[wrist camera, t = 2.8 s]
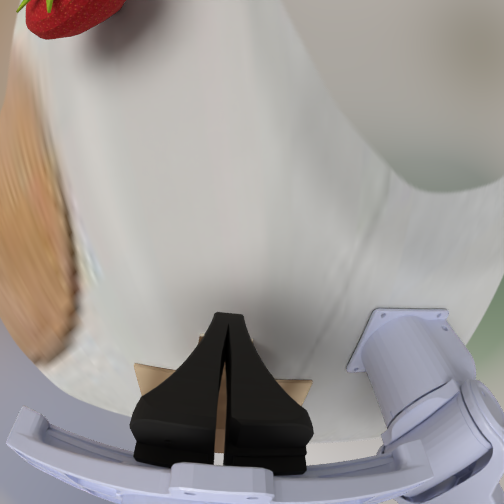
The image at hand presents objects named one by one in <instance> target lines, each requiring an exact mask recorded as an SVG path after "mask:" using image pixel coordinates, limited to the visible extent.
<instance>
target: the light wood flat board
mask: <svg viewBox="0 0 504 504" xmlns="http://www.w3.org/2000/svg"><path fill="white" fill-rule="evenodd" d="M134 369H135V373H136V376H137V380H138V384H139V387H140V391H141V394H142V396H143V395H145V394H146V393H148V392H149V391H151V390H152V389H154V388H155V387H157V386H158V385H159V384H161V383H162V382H163V381H164V380H166V379H167V378H168V377H169V376H171V375H172V374H173V373H174V372H175V371H176V370H170V369H163V368H158V367H152V366H146V365H141V364H136V363H135V364H134ZM276 381H277V382H278V384H279V385H280V386H281V387H282V388H283V389H284V390H285V392H286V393H287V394H288V395H289V396H290V397H291V398H293V399H294V400H295V401H296V402H297V403H298V404H299V405H300V406H302V404H303V402H304V400H305V398H306V396H307V394H308V392H309V389H310V387H311V385H312V380H276Z"/></svg>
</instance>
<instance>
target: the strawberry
mask: <svg viewBox="0 0 504 504" xmlns="http://www.w3.org/2000/svg"><path fill="white" fill-rule="evenodd" d="M125 1H126V0H23V1H22V3H21V5H20V6H19V8H18V9H17V11H16V12H17V13H18V12H19V11H20V10H21V9H22V8H23V7H24V6H25V5H26V4H27V5H26V25H27V27H28V29H29V30H30V31H31V32H33V33H34V34H35V35H37V36H38V37H40V38H42V39H46V40H47V39H56V38H63V37H71V36H75V35H78V34H81V33H83V32H85V31H87V30H89V29H90V28H92V27H94V26H96V25H98V24H100V23H101V22H103V21H105V20H106V19H108V18H109V17H110V16H112V15H113V14H115V13H116V12H118V11H119V10H120V9H121V8H122V6H123V4H124V2H125Z"/></svg>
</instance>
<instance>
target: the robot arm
mask: <svg viewBox="0 0 504 504" xmlns="http://www.w3.org/2000/svg"><path fill="white" fill-rule="evenodd" d="M383 313H384V314H383ZM382 314H383V315H382ZM448 315H449V311H448V310H447V309H380V308H379V309H376V310H374V311H373V313H372V315H371V317H370V320H369V322H368V324H367V326H366V328H365V331H364V333H363V335H362V337H361V339H360V341H359V343H358V346H357V348H356V350H355V352H354V354H353V356H352V358H351V360H350V362H349V364H348V365H347V368H346V369H347V372H367V374H368V377H369V379H370V382H371V385H372V387H373V390H374V393H375V396H376V398H377V401H378V404H379V407H380V409H381V412H382V415H383V418H384V421H385V424H386V427H387V430H386V431H385V432H384V433H382V434H381V437H382V440H383V443H384V444H383V445H382V446H381V447H380V448H379V450H378V452H377V455H376V456H371V457H367V458H361V459H356V460H350V461H343V462H337V463H329V464H320V465H310V466H306V460H305V455H306V454H307V451H306V445H307V444H308V442H309V441H310V440H311V438H312V437H313V434H314V432H313V426H312V423H311V420H310V417H309V415H308V412H307V410H305V409H304V408H303V407H302V406H300V405H299V404H298V403H297V402H296V401H295V400H294V399H293V398H291V397H290V396H289V395H288V394H287V393H286V392H285V390H284V389H283V388H282V387H281V386H280V385H279V384H278V382H277V381H276V380H275V379H274V378H273V376H272V375H271V374H270V372H269V371H268V369H267V368H266V366H265V365H264V363H263V362H262V360H261V358H260V356H259V355H258V353H257V351H256V349H255V347H254V345H253V343H252V340H251V338H250V336H249V333H248V330H247V328H246V324H245V320H244V316H243V315H242V314H232V313H222V312H216V313H215V314H214V317H213V319H212V322H211V324H210V326H209V328H208V330H207V331H206V333H205V335H204V336H203V338H202V340H201V341H200V343H199V344H198V345H197V347H196V348H195V349H194V351H193V352H192V353H191V355H190V356H189V357H188V358H187V359H186V361H185V362H184V363H183V364H182V365H181V366H180V367H179V368H178V369H177V370H176V371H175V372H174V373H173V374H172V375H171V376H169V377H168V378H167V379H166V380H164V381H163V382H162V383H161V384H159V385H158V386H157V387H155V388H154V389H152V390H151V391H149V392H148V393H146V394H145V395H143V396H142V397H141V398H140V400H139V402H138V403H137V405H136V407H135V410H134V412H133V414H132V418H131V422H130V429H131V431H132V433H133V435H134V437H135V439H136V441H137V442H136V446H135V451H134V452H131V451H127V450H124V449H120V448H116V447H113V446H109V445H106V444H103V443H100V442H97V441H94V440H91V439H87V438H85V437H82V436H79V435H76V434H74V433H71V432H69V431H66V430H64V429H61V428H59V427H57V426H54V425H52V424H50V423H49V421H48V420H47V419H46V418H45V417H44V416H43V415H42V414H40V413H38V412H36V411H34V410H32V409H30V408H28V407H26V406H22V408H21V410H20V412H19V415H18V417H17V418H16V421H15V423H14V425H13V427H12V429H11V431H10V434H9V436H8V438H7V441H6V444H7V445H8V446H9V447H10V448H11V449H12V450H14V451H15V452H16V453H17V454H18V455H19V456H21V457H22V458H23V459H24V460H26V461H27V462H28V463H29V464H30V465H32V466H34V467H36V468H38V469H39V470H41V471H43V472H45V473H47V474H49V475H51V476H53V477H55V478H57V479H59V480H61V481H63V482H65V483H67V484H69V485H71V486H74V487H76V488H78V489H80V490H83V491H85V492H87V493H90V494H92V495H95V496H97V497H100V498H103V499H106V500H108V501H111V502H114V503H117V504H378V503H381V502H384V501H387V500H390V499H394V500H395V501H397V502H398V503H399V504H504V492H503V490H502V488H501V486H500V484H499V481H500V479H501V477H502V476H503V474H504V412H503V410H502V408H501V406H500V405H499V403H498V401H497V400H496V398H495V397H494V395H493V394H492V393H491V391H490V390H489V389H488V388H487V387H486V386H485V385H484V384H483V383H482V382H481V381H479V380H475V379H476V368H475V363H474V360H473V357H472V355H471V354H470V352H469V351H468V349H467V348H466V347H465V345H464V344H463V342H462V341H461V340H460V338H459V337H458V335H457V334H456V333H455V331H454V330H453V329H452V327H451V326H450V325H449V323H448V322H447V321H446V319H447V317H448ZM224 363H225V372H226V395H227V406H226V424H225V442H224V461H223V466H221V465H214V450H215V434H216V420H217V405H218V397H219V391H220V386H221V380H222V374H223V369H224Z"/></svg>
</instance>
